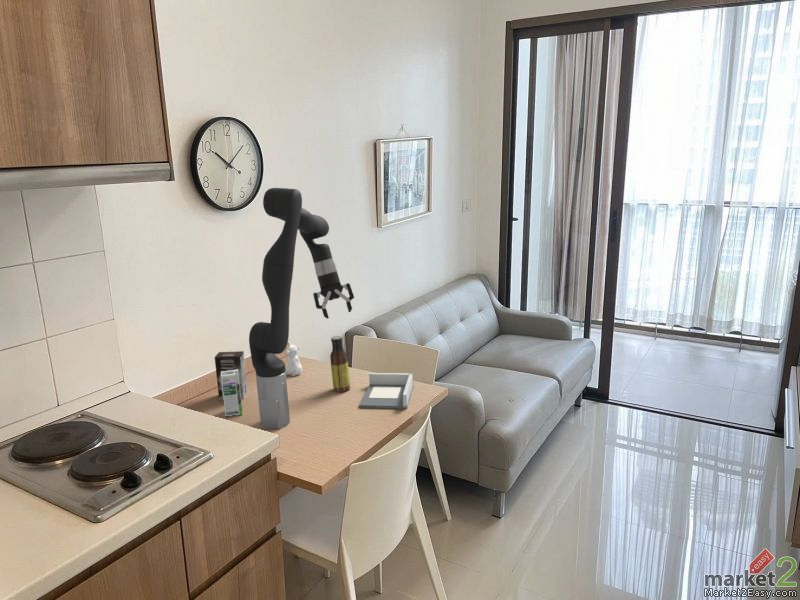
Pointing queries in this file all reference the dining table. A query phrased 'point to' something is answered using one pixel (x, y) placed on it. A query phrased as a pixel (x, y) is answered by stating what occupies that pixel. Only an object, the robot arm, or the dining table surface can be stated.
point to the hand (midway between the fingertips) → (338, 315)
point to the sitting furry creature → (293, 361)
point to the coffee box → (231, 362)
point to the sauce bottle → (339, 365)
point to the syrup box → (231, 392)
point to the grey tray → (388, 391)
